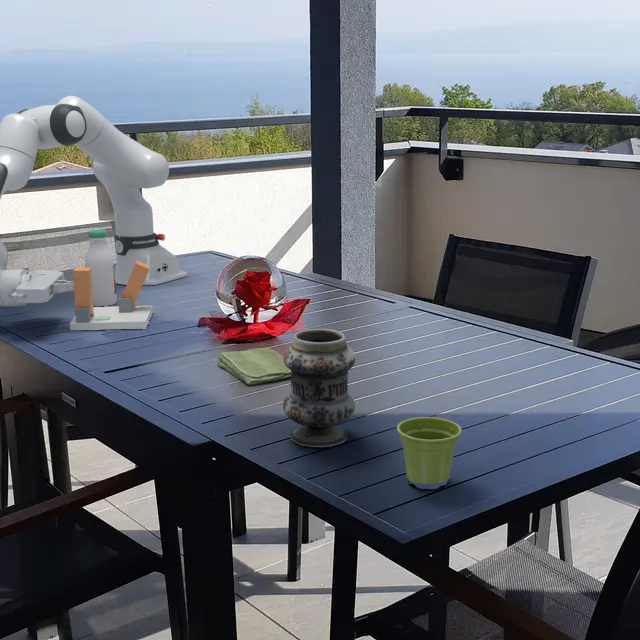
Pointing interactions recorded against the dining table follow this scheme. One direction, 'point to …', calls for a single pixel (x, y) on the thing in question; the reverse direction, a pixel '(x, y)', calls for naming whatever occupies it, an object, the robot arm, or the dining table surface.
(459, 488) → the dining table surface
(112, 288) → the milk bottle
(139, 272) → the lever
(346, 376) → the apothecary jar
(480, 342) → the dining table surface
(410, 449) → the plant pot
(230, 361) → the washcloth
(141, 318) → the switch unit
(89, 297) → the lever
